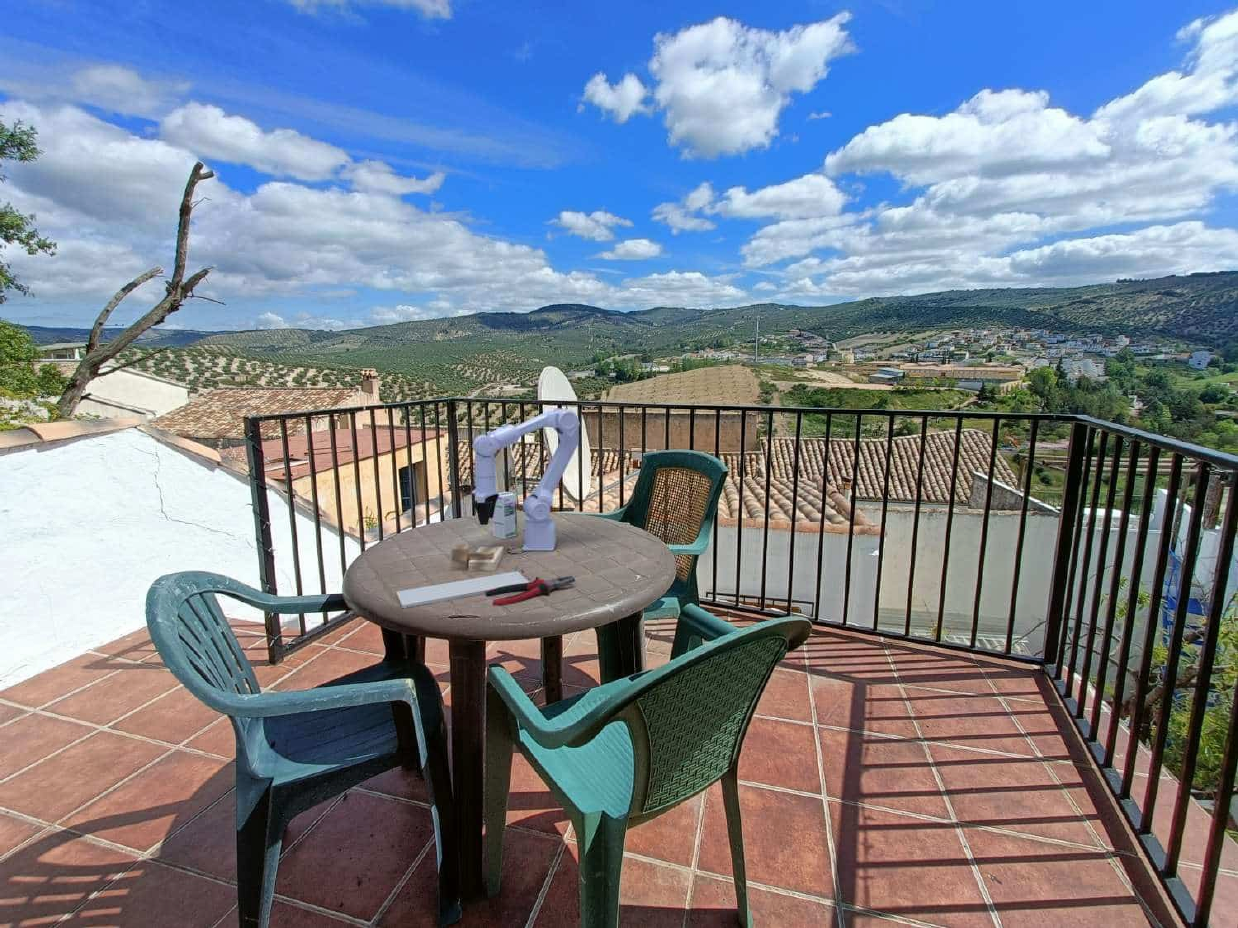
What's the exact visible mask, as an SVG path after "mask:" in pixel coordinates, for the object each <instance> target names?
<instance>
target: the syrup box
mask: <svg viewBox="0 0 1238 928" xmlns="http://www.w3.org/2000/svg"><path fill="white" fill-rule="evenodd" d="M497 494H499V497H498V499H497V501H496V505H495V510H494V516H493V518H492V536H493V537H494V538H498V539H501V540H506V539H510V538H513V537H517V536H518V518H517V517H518V516H517V494H516V493H514V492H511V491H502V492H499V493H498V492H497Z"/></svg>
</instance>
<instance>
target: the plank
mask: <svg viewBox="0 0 1238 928" xmlns="http://www.w3.org/2000/svg"><path fill="white" fill-rule="evenodd" d="M475 552H494V557H493V558H491V559H489V558H470V561H469V568H468V572H494V571H496V569H497V567H498V566H499V564H500V562H501V561H502V558H503V557H504V552H505V550H504V546H479V547H478V549H476V551H475Z"/></svg>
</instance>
